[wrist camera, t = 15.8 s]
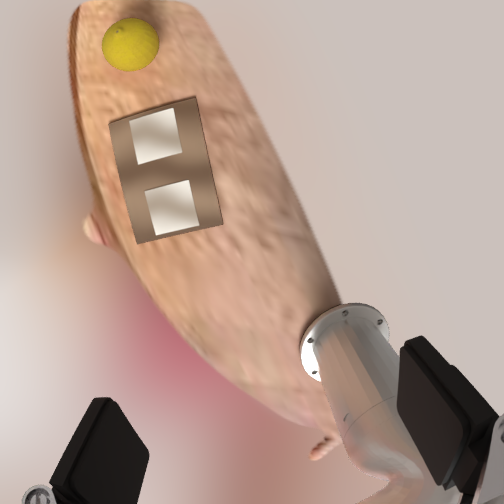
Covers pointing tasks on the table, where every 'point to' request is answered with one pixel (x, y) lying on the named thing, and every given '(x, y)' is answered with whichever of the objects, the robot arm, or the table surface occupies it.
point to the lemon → (130, 44)
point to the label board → (165, 171)
